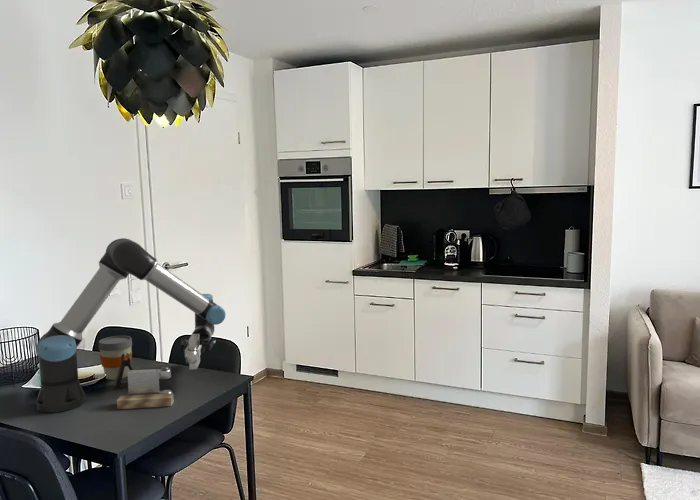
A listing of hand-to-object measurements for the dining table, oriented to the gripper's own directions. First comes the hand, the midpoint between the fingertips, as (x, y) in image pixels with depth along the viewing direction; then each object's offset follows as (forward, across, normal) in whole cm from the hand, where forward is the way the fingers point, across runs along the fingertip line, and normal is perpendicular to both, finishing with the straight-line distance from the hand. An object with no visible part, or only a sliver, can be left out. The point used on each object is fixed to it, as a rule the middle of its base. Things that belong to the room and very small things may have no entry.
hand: (192, 353), depth 196 cm
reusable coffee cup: (-26, +34, -16) cm, 46 cm away
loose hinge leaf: (-4, 0, -6) cm, 7 cm away
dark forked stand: (-14, +27, -16) cm, 34 cm away
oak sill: (+7, +15, -16) cm, 23 cm away
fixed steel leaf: (+3, +14, -16) cm, 21 cm away
